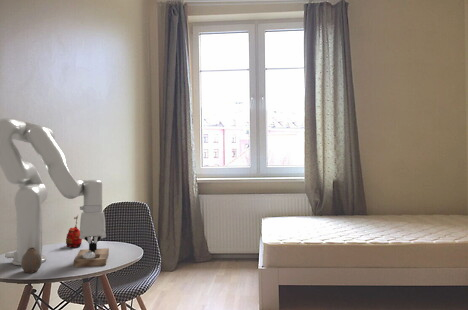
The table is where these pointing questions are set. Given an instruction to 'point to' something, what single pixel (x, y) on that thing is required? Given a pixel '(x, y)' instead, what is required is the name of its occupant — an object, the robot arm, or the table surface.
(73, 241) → the red clay folk toy
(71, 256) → the table surface
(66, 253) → the table surface
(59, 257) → the table surface
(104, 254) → the board
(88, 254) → the ball
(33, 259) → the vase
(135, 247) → the table surface
